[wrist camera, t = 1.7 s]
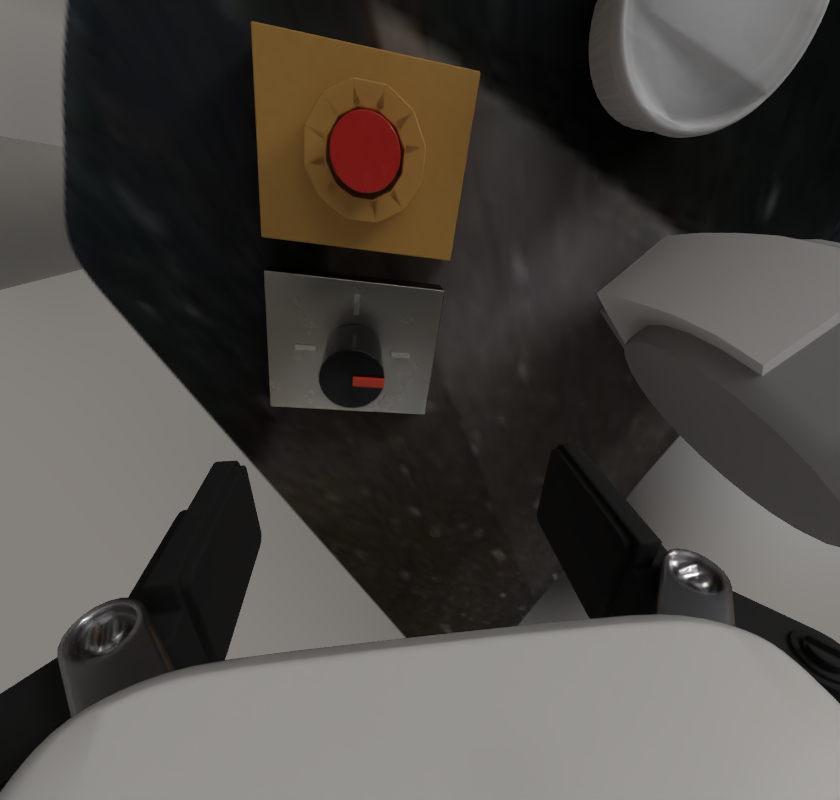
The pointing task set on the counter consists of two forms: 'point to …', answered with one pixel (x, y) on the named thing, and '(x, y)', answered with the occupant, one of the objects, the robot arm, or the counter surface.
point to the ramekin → (694, 59)
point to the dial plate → (340, 306)
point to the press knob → (364, 151)
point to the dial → (352, 367)
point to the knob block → (311, 131)
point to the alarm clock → (743, 361)
